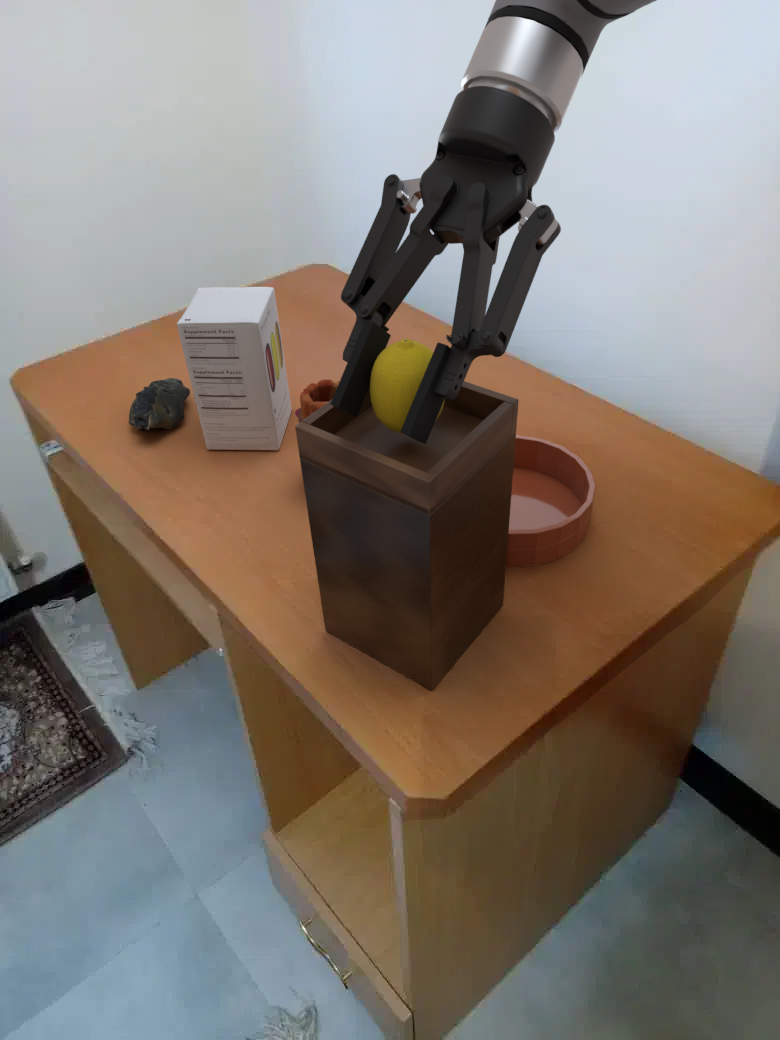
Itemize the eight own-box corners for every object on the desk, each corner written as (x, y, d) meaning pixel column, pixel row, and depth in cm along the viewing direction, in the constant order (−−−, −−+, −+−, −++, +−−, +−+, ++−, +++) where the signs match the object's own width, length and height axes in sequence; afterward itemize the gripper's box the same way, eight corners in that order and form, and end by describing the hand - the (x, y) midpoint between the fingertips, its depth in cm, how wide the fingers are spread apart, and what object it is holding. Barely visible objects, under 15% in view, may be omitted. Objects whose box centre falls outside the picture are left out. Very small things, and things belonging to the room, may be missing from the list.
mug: (328, 511, 86) (316, 413, 78) (289, 484, 90) (274, 388, 82) (409, 461, 92) (406, 365, 84) (369, 437, 96) (363, 344, 88)
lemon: (364, 422, 62) (357, 329, 56) (431, 408, 63) (430, 315, 57) (385, 462, 58) (379, 367, 52) (456, 446, 59) (457, 351, 54)
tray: (516, 431, 62) (518, 399, 60) (429, 516, 55) (429, 482, 53) (392, 387, 67) (391, 356, 65) (299, 458, 60) (294, 426, 58)
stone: (201, 388, 107) (193, 352, 103) (177, 444, 97) (167, 407, 93) (152, 388, 107) (142, 353, 104) (122, 445, 97) (111, 408, 94)
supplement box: (280, 452, 95) (258, 324, 84) (205, 451, 96) (173, 324, 84) (293, 408, 102) (275, 284, 91) (223, 407, 103) (196, 285, 92)
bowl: (615, 499, 86) (621, 466, 83) (543, 589, 76) (547, 556, 73) (486, 451, 93) (487, 419, 90) (406, 527, 84) (405, 494, 81)
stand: (503, 605, 75) (516, 431, 62) (431, 691, 68) (429, 516, 55) (400, 556, 80) (392, 387, 67) (325, 631, 73) (299, 458, 60)
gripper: (643, 163, 54) (508, 478, 55) (420, 127, 62) (307, 399, 64) (622, 96, 47) (469, 455, 48) (376, 66, 56) (251, 371, 57)
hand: (377, 423), depth 56 cm, fingers closed on lemon, 5 cm apart
